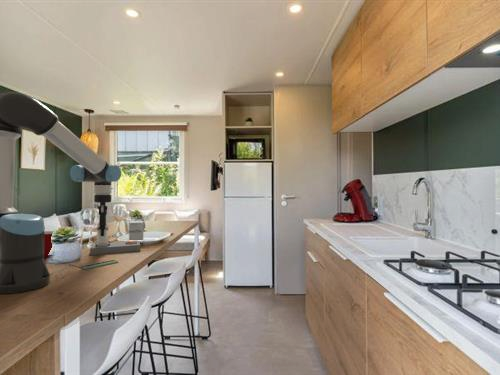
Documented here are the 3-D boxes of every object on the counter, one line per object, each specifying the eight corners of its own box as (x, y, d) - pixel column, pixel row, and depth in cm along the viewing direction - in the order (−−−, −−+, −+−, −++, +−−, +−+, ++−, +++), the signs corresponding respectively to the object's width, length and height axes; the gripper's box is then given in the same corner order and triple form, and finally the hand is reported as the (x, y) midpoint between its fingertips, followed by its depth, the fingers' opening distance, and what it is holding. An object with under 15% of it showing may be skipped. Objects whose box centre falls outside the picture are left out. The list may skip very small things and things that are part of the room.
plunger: (127, 249, 147) (127, 242, 147) (126, 247, 151) (126, 240, 151) (135, 248, 149) (135, 241, 149) (135, 247, 152) (135, 240, 152)
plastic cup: (65, 254, 141) (65, 229, 141) (47, 260, 130) (47, 233, 130) (44, 254, 142) (44, 229, 142) (24, 259, 131) (24, 232, 131)
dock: (90, 257, 137) (90, 248, 137) (92, 251, 148) (92, 243, 148) (140, 252, 146) (140, 244, 146) (138, 248, 157) (138, 240, 157)
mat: (84, 269, 116) (84, 268, 116) (68, 264, 124) (68, 262, 124) (117, 262, 127) (117, 261, 127) (101, 257, 136) (101, 256, 136)
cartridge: (100, 252, 141) (100, 227, 141) (94, 251, 144) (95, 226, 144) (110, 251, 145) (110, 226, 145) (105, 249, 148) (105, 225, 148)
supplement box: (128, 245, 165) (128, 222, 164) (130, 242, 172) (130, 221, 172) (142, 244, 167) (142, 222, 166) (143, 242, 174) (143, 220, 174)
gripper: (111, 194, 137) (110, 244, 137) (111, 193, 154) (111, 238, 154) (92, 194, 134) (92, 245, 134) (95, 193, 151) (95, 238, 151)
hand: (102, 241), depth 144 cm, fingers open, 5 cm apart
